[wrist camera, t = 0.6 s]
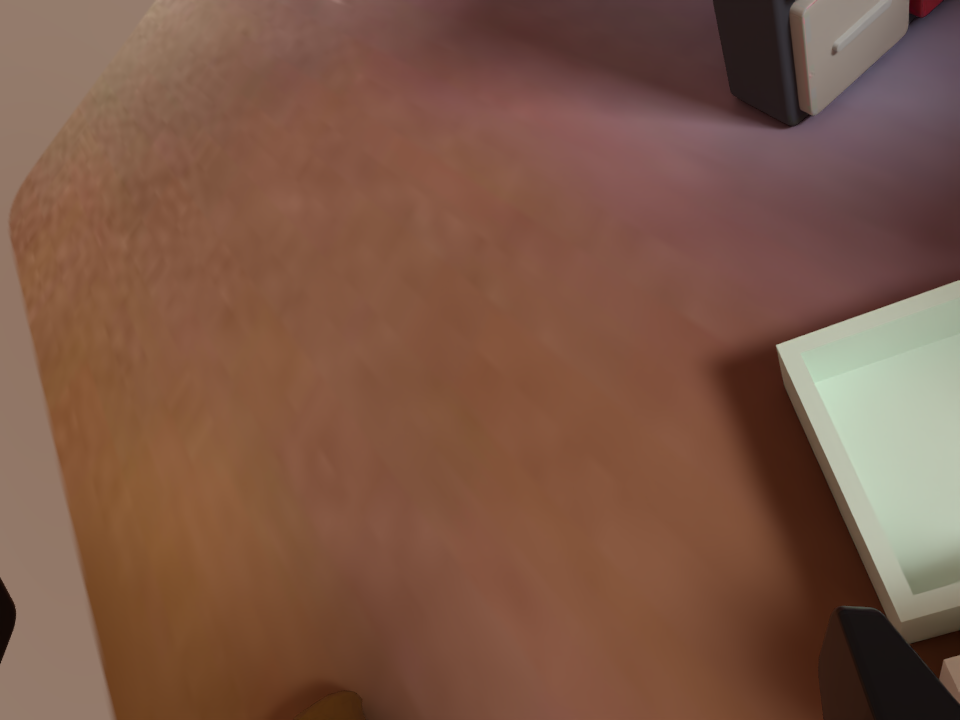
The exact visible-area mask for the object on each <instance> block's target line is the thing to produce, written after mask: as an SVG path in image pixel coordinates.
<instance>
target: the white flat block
mask: <svg viewBox="0 0 960 720" xmlns="http://www.w3.org/2000/svg"><path fill="white" fill-rule="evenodd" d="M939 680H940V681H941V683H942V684H943V685H944V686H945V687H946V688H947V690H948V691H949V692H950V693H951V694H952V696H953V697H954V698H955V699H956V700H957V701H958V703H959V704H960V655H958V656H955V657H951V658H947V659H944V660H943V665H942V669H941V673H940V677H939Z"/></svg>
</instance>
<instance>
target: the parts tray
mask: <svg viewBox="0 0 960 720" xmlns="http://www.w3.org/2000/svg"><path fill="white" fill-rule="evenodd" d="M776 348H777V353H778V358H779V363H780V368H781V373H782V378H783V383H784V387H785V389H786V391H787V393H788V396H789V398H790V400H791V402H792V405H793V407H794V409H795V411H796V414H797V416H798V418H799V420H800V423H801V425H802V427H803V429H804V432H805V434H806V436H807V438H808V441H809V443H810V445H811V447H812V450H813V452H814V454H815V456H816V459H817V461H818V463H819V465H820V468H821V470H822V472H823V474H824V477H825V479H826V481H827V483H828V486H829V488H830V490H831V492H832V495H833V497H834V499H835V501H836V504H837V506H838V508H839V510H840V513H841V515H842V517H843V519H844V522H845V524H846V526H847V528H848V531H849V533H850V535H851V537H852V540H853V542H854V544H855V546H856V549H857V551H858V553H859V555H860V558H861V560H862V562H863V564H864V567H865V569H866V571H867V573H868V576H869V578H870V580H871V582H872V585H873V587H874V589H875V591H876V594H877V596H878V598H879V600H880V603H881V605H882V607H883V609H884V612H885V614H886V616H887V618H888V620H889V621H890V622H891V623H892V625H893V626H894V627H895V628H896V629H897V631H898V632H899V633H900V634H901V635H902V636H903V638H904V639H905V640H906V641H907V642H908V644H911V643H915V642H918V641H922V640H926V639H929V638H933V637H936V636H940V635H944V634H947V633H951V632H955V631H958V630H960V280H958V281H956V282H953V283H950V284H947V285H944V286H941V287H939V288H936V289H933V290H930V291H927V292H924V293H922V294H919V295H916V296H913V297H910V298H908V299H905V300H902V301H899V302H896V303H893V304H891V305H888V306H885V307H882V308H879V309H876V310H874V311H871V312H868V313H865V314H862V315H859V316H857V317H854V318H851V319H848V320H845V321H843V322H840V323H837V324H834V325H831V326H828V327H826V328H823V329H820V330H817V331H814V332H811V333H809V334H806V335H803V336H800V337H797V338H794V339H792V340H789V341H786V342H783V343H780V344H778V345H776Z"/></svg>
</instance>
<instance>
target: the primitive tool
mask: <svg viewBox="0 0 960 720" xmlns="http://www.w3.org/2000/svg"><path fill="white" fill-rule="evenodd" d="M294 720H366V719H365V717H364V714H363V711H362V699H361V697H360V696H359V695H358V694H357V693H355V692H351V691H340V692H337V693H333V694H329V695H327V696H326V697H324V698H322V699H321V700H319V701H318V702H316V703H314V704H313V705H311V706H310V707H309V708H307V709H306V710H304V711H303V712H302V713H300V714H299V715H297V716H296V717H295V719H294Z"/></svg>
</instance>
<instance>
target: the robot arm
mask: <svg viewBox="0 0 960 720" xmlns="http://www.w3.org/2000/svg"><path fill="white" fill-rule="evenodd" d="M15 620H16V609H15V605H14V602H13V600H12V598H11V597H10V595H9V593H8V591H7V589H6V587H5V586H4V583H3V582H2V580H1V578H0V663H1V661H2V658H3V655H4V653H5V650H6V647H7V645H8V642H9V640H10V637H11V634H12V632H13V629H14V625H15ZM818 673H819V685H820V693H821V702H822V710H823V718H824V720H960V704H959V703H958V701H957V700H956V699H955V698H954V697H953V696H952V694H951V693H950V692H949V691H948V690H947V688H946V687H945V686H944V685H943V684H942V683H941V681H940V680H939V679H938V678H937V677H936V675H935V674H934V673H933V672H932V671H931V670H930V668H929V667H928V666H927V665H926V664H925V662H924V661H923V660H922V659H921V658H920V657H919V655H918V654H917V653H916V652H915V651H914V649H913V648H912V647H911V646H910V645H909V644H908V642H907V641H906V640H905V639H904V638H903V636H902V635H901V634H900V633H899V632H898V631H897V629H896V628H895V627H894V626H893V625H892V623H891V622H890V621H889V620H888V619H887V618H886V616H885V615H884V614H883V613H881V612H880V611H879V610H877V609H875V608H870V607H852V606H838V607H836V608H835V609H834V610H833V612H832V613H831V616H830V619H829V623H828V627H827V630H826V634H825V638H824V641H823V645H822V648H821V652H820V656H819V666H818Z"/></svg>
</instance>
